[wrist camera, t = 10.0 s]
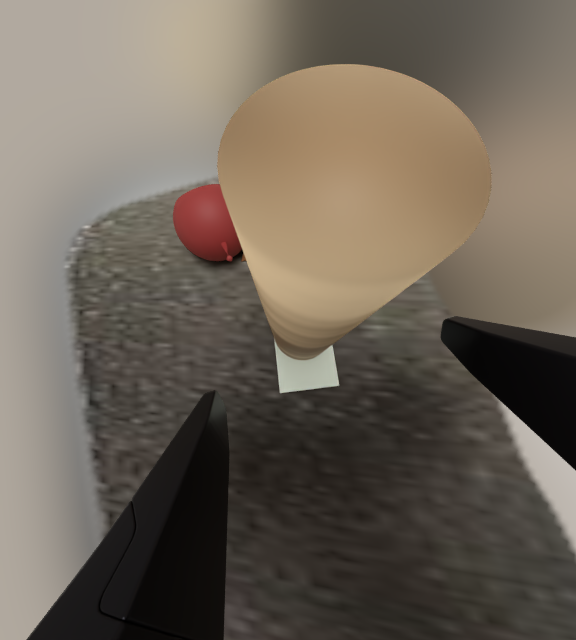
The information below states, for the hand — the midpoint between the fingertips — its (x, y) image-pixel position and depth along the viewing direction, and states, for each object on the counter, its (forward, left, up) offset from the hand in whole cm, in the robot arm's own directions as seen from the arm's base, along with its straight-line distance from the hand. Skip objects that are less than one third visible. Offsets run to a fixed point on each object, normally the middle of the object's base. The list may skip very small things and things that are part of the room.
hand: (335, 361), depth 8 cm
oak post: (+3, 0, -7) cm, 8 cm away
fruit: (+12, +6, -10) cm, 17 cm away
